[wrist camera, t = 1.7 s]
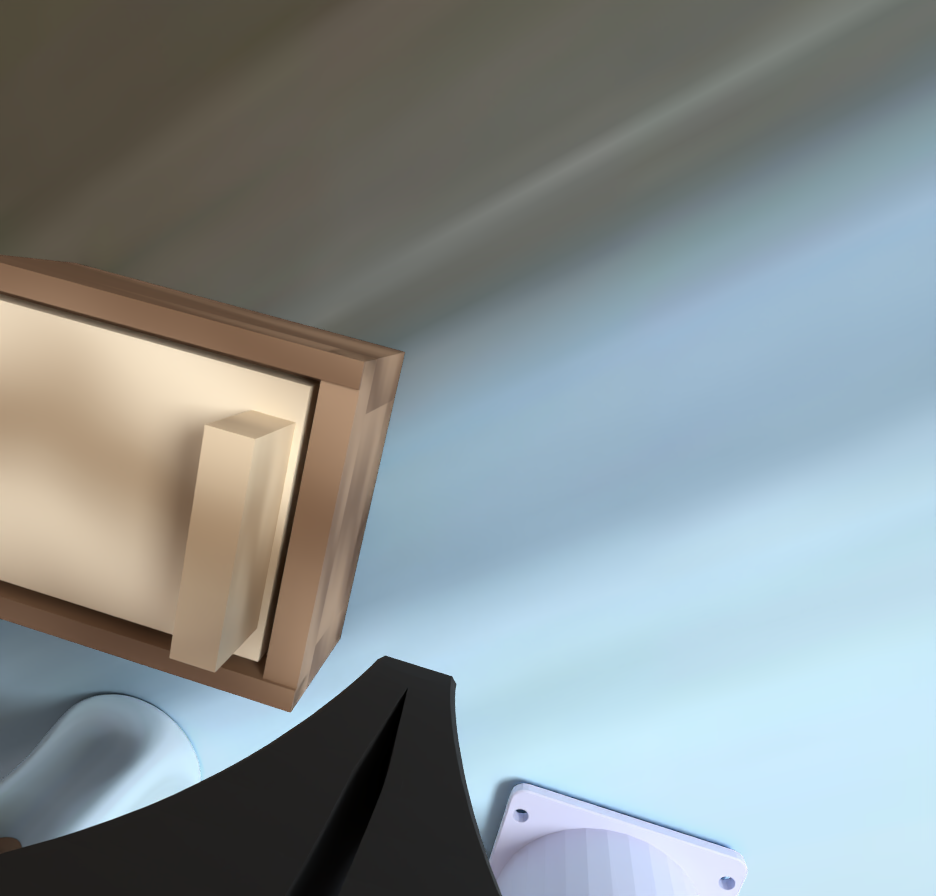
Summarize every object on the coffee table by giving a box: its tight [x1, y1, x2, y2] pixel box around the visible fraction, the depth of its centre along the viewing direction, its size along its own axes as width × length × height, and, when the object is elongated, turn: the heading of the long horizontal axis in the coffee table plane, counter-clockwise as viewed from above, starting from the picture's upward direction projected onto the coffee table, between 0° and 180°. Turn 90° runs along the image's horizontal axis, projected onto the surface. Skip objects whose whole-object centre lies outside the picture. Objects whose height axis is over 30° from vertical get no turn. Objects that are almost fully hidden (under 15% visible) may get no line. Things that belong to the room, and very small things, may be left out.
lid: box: [0, 294, 320, 673], centre depth 16 cm, size 8×10×3 cm
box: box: [0, 255, 405, 712], centre depth 19 cm, size 10×11×4 cm
